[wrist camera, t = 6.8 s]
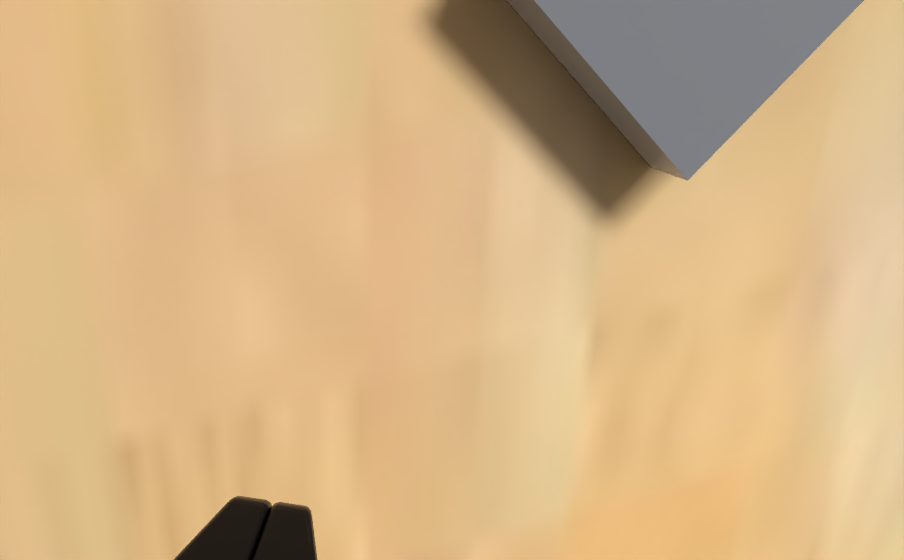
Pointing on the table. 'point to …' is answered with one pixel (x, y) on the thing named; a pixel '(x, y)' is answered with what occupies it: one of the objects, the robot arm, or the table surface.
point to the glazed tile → (681, 63)
